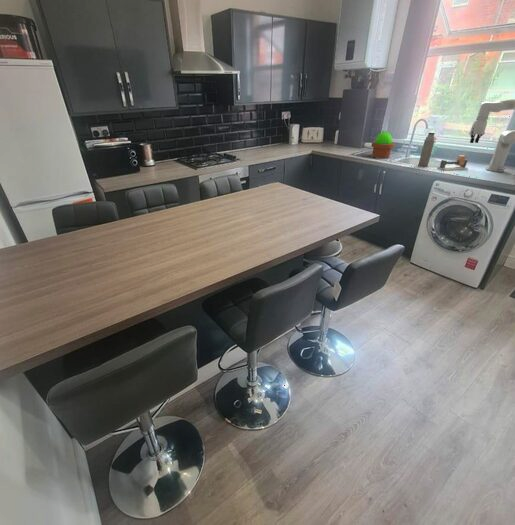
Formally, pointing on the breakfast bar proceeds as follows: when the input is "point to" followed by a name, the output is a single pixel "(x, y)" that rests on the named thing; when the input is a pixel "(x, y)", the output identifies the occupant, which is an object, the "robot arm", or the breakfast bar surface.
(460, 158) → the keeper
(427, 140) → the thermos bottle
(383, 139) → the potted cactus
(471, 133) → the robot arm
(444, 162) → the rail
